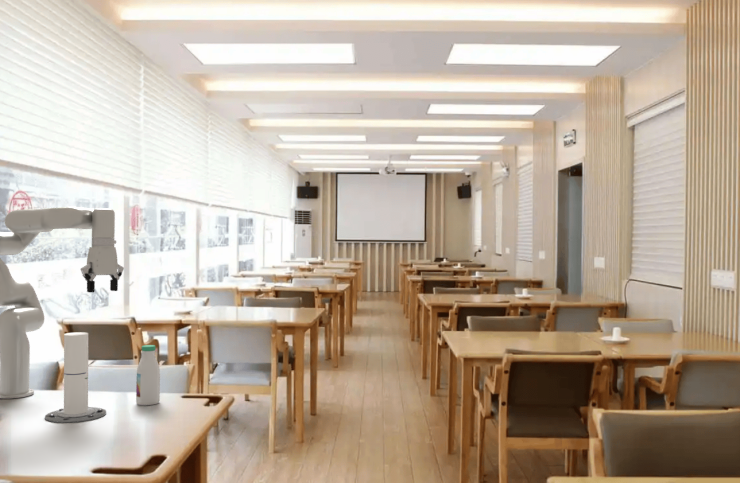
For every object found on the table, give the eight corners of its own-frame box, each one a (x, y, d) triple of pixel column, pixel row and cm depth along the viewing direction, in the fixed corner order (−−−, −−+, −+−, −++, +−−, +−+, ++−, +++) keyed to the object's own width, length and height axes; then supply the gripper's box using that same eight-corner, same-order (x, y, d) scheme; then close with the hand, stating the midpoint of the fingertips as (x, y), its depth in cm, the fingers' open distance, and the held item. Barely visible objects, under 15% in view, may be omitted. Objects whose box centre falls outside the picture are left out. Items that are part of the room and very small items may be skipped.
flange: (32, 417, 214) (32, 414, 214) (82, 406, 229) (82, 402, 229) (69, 425, 205) (69, 421, 205) (118, 413, 220) (118, 409, 220)
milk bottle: (163, 401, 238) (163, 344, 238) (154, 406, 231) (154, 347, 231) (142, 400, 239) (142, 343, 239) (132, 405, 231) (132, 347, 231)
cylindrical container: (58, 412, 216) (59, 334, 216) (77, 407, 222) (78, 331, 222) (74, 415, 212) (74, 335, 212) (92, 410, 219) (93, 333, 219)
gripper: (116, 243, 249) (115, 289, 249) (74, 243, 234) (74, 292, 234) (130, 243, 245) (129, 290, 245) (89, 243, 230) (88, 293, 230)
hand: (102, 291), depth 240 cm, fingers open, 9 cm apart
